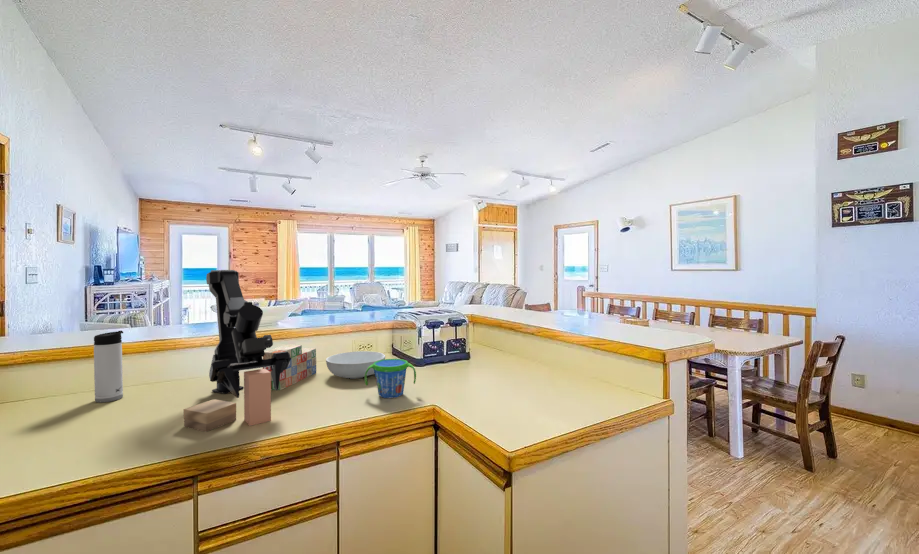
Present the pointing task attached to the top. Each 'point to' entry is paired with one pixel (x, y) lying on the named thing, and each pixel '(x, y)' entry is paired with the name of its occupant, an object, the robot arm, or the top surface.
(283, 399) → the top surface
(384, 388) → the snack cup
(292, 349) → the stack of blocks
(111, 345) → the travel mug
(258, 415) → the pillar
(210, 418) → the tower top
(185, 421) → the tower base
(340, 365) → the serving bowl
